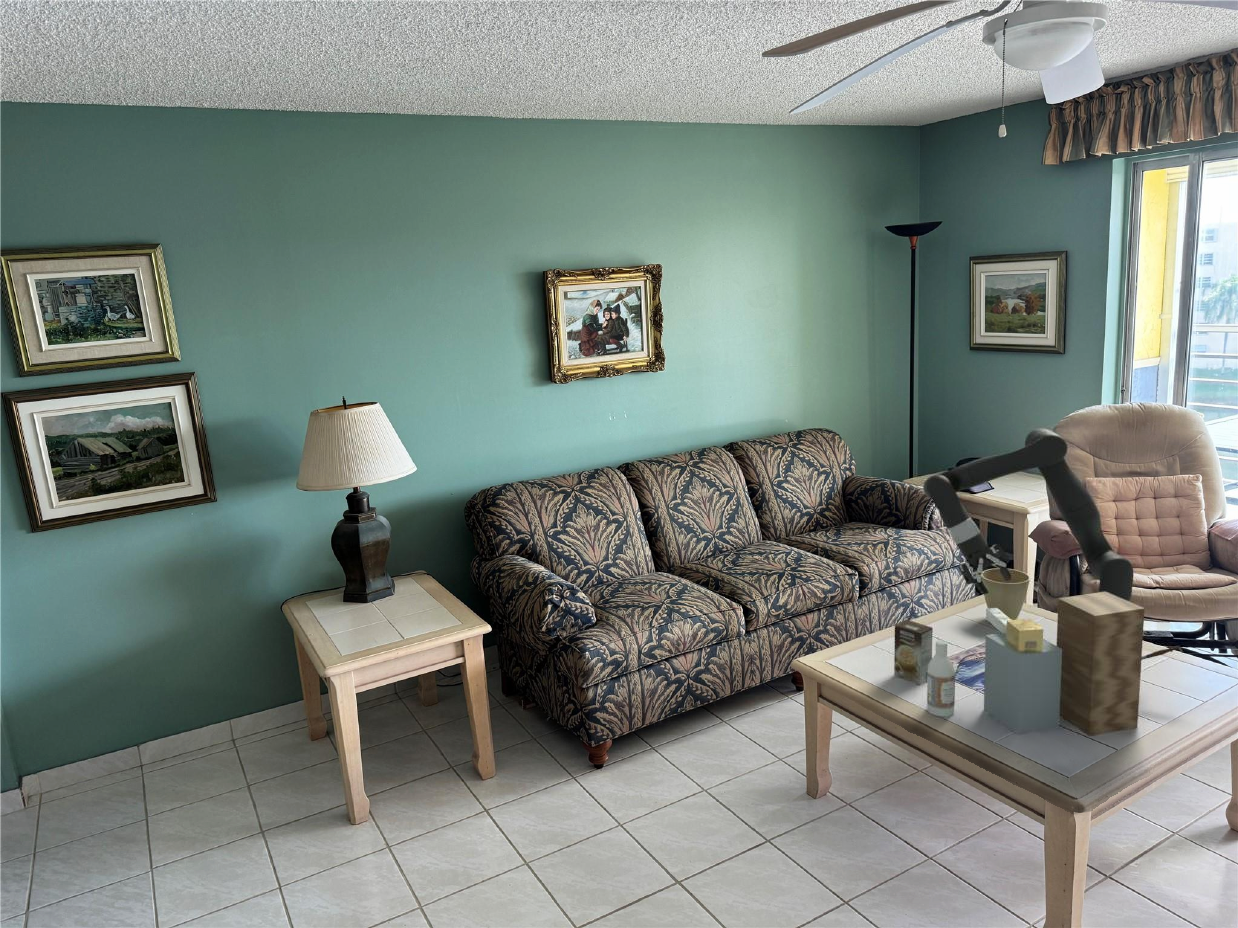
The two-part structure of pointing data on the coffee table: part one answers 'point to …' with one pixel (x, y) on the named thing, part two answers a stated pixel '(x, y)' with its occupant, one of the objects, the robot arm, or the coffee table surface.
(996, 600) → the plant pot
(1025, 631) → the wood and metal block
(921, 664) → the coffee box
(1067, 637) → the tall stand
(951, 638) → the coffee table surface
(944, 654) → the bath foam
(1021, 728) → the blue gray block
